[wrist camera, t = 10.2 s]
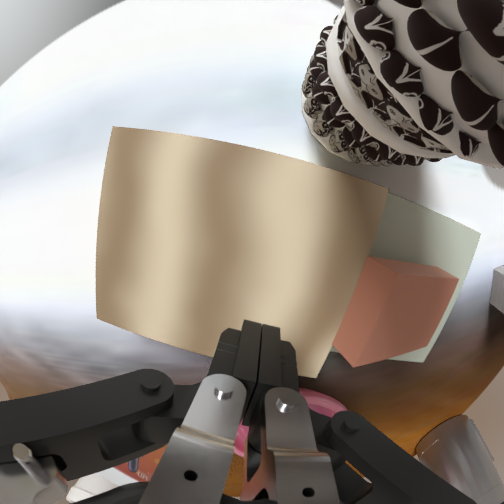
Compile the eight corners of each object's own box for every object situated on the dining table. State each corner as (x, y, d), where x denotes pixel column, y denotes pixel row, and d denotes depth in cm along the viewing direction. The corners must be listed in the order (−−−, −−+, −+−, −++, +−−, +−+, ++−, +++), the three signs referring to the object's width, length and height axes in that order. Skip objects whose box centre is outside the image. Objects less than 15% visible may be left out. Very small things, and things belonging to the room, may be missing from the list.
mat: (478, 232, 17) (480, 233, 17) (422, 360, 21) (423, 362, 21) (365, 184, 17) (367, 185, 17) (310, 345, 21) (310, 347, 21)
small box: (202, 419, 25) (180, 500, 15) (176, 435, 26) (153, 505, 16) (137, 377, 24) (93, 456, 13) (119, 398, 25) (80, 465, 15)
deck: (365, 184, 17) (389, 189, 13) (310, 345, 21) (316, 378, 17) (141, 133, 17) (112, 126, 13) (121, 295, 21) (97, 318, 17)
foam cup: (128, 469, 32) (106, 523, 19) (87, 439, 30) (57, 494, 17) (163, 468, 30) (141, 533, 17) (117, 435, 28) (83, 503, 15)
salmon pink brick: (436, 266, 18) (459, 279, 16) (408, 331, 20) (426, 346, 18) (367, 255, 14) (397, 273, 12) (331, 344, 16) (353, 367, 14)
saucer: (288, 455, 26) (288, 475, 23) (201, 416, 25) (195, 438, 22) (369, 404, 23) (377, 426, 20) (281, 351, 21) (282, 376, 18)
